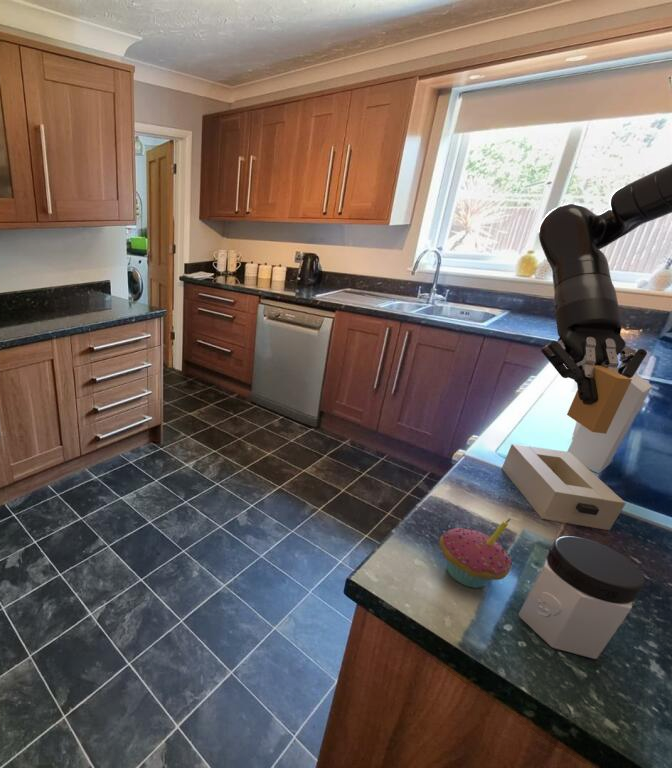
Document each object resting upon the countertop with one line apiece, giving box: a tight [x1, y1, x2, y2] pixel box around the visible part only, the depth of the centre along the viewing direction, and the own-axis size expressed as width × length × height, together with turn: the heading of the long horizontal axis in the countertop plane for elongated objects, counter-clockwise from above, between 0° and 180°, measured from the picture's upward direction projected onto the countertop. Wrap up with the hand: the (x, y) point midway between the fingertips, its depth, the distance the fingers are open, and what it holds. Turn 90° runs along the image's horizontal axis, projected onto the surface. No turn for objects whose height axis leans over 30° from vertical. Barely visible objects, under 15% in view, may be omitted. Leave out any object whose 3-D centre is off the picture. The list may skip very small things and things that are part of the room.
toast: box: [566, 365, 632, 434], centre depth 66 cm, size 2×6×9 cm, turn 165°
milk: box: [566, 366, 653, 474], centre depth 87 cm, size 6×6×22 cm
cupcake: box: [438, 518, 513, 589], centre depth 61 cm, size 9×8×12 cm
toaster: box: [501, 443, 626, 531], centre depth 79 cm, size 17×10×6 cm, turn 165°
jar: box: [517, 535, 646, 660], centre depth 54 cm, size 9×8×12 cm
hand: (600, 403), depth 66 cm, fingers closed on toast, 2 cm apart
